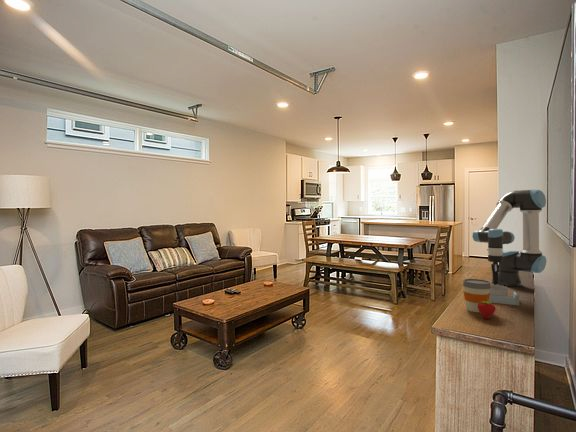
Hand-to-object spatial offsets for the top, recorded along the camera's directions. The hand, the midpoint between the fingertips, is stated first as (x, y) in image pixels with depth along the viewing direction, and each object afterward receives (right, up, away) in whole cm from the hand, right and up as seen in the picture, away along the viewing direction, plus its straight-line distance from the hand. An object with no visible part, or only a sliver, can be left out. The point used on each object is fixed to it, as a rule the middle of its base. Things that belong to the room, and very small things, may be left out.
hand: (495, 294), depth 199 cm
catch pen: (-3, -2, -6) cm, 7 cm away
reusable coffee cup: (-26, -2, -26) cm, 37 cm away
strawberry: (-29, -3, -40) cm, 49 cm away
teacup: (-4, -2, -6) cm, 7 cm away
